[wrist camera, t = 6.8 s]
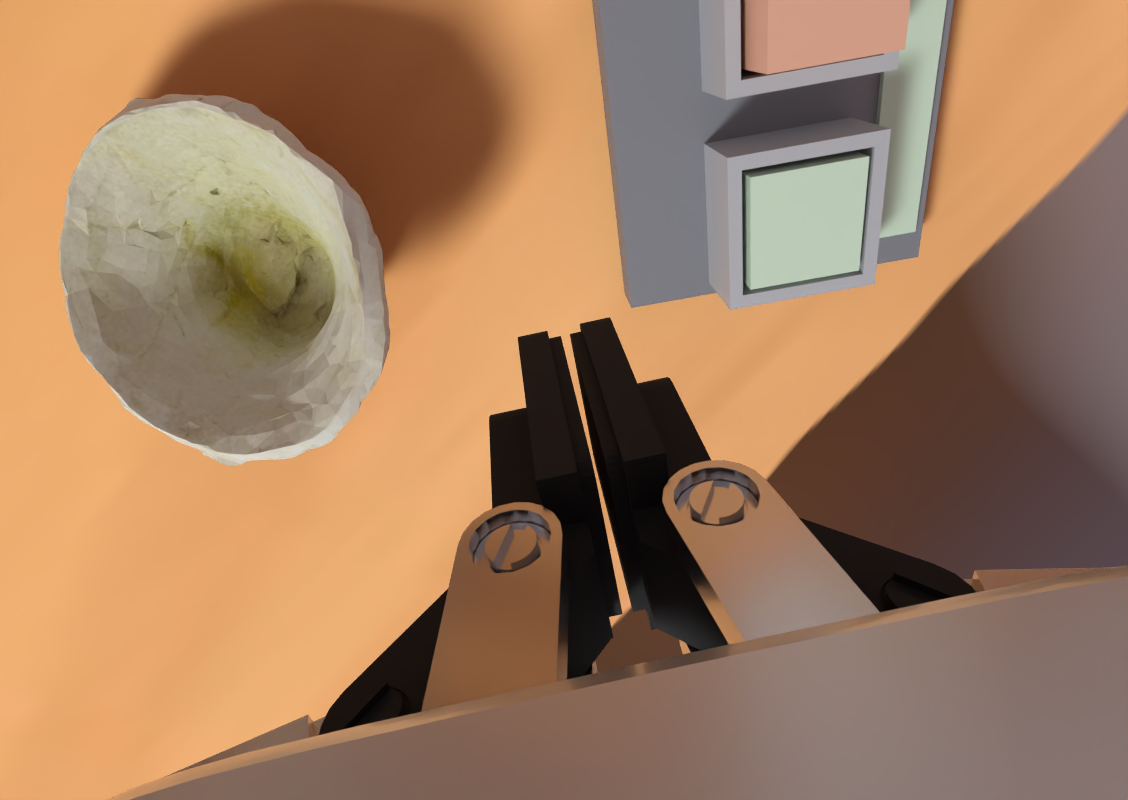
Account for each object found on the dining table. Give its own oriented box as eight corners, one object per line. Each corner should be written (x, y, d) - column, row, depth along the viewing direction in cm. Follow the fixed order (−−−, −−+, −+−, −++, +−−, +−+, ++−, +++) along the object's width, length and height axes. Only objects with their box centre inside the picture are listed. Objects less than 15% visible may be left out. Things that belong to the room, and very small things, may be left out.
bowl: (209, -1, 27) (72, -8, 18) (472, 227, 32) (462, 303, 24) (52, 259, 31) (-116, 350, 23) (305, 417, 37) (247, 537, 29)
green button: (728, 163, 29) (750, 177, 27) (836, 144, 29) (869, 156, 27) (730, 267, 32) (750, 289, 29) (830, 250, 32) (859, 270, 29)
